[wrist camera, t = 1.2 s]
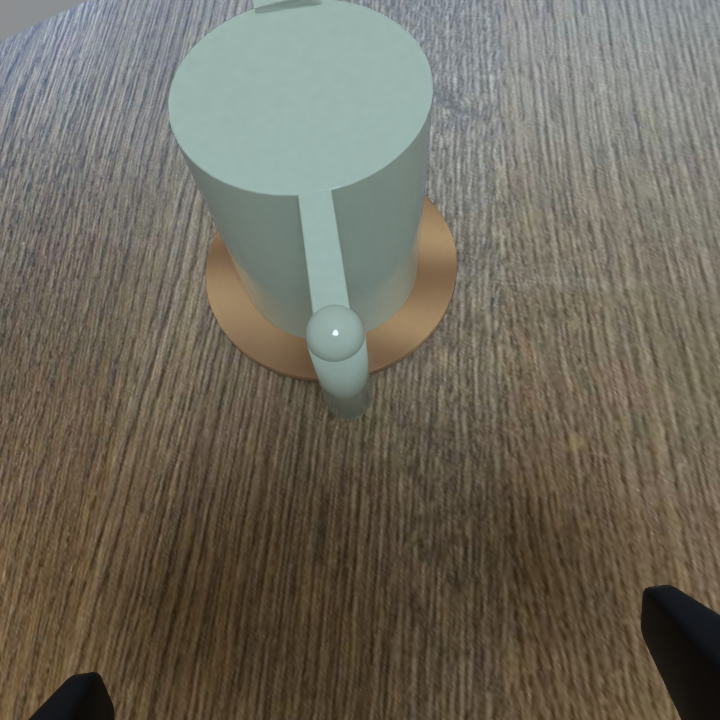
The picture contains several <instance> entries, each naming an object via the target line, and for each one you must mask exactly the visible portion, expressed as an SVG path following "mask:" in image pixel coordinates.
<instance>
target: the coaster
mask: <svg viewBox="0 0 720 720" xmlns="http://www.w3.org/2000/svg"><path fill="white" fill-rule="evenodd" d="M456 275H457V255H456V249H455V245H454V240H453V237H452V235H451V232H450V229H449V227H448V225H447V223H446V221H445V220H444V218H443V216H442V214H441V213H440V212H439V210H438V209H437V208H436V206H435V205H434V204H433V203H432V202H431V201H430V200H429V199H428V198H427V197H426V196H425V197H424V209H423V221H422V233H421V245H420V257H419V268H418V274H417V279H416V282H415V285H414V288H413V290H412V292H411V294H410V296H409V297H408V299H407V300H406V302H405V303H404V305H403V306H402V307H401V308H400V309H399V310H398V311H397V313H396V314H395V315H393V316H392V317H391V318H390V319H389V320H387V321H386V322H385V323H383V324H382V325H380V326H379V327H377V328H375V329H373V330H371V331H369V332H367V333H365V334H366V345H367V356H368V367H369V375H372V374H374V373H377V372H379V371H382V370H384V369H387V368H389V367H391V366H392V365H394V364H396V363H398V362H400V361H402V360H403V359H404V358H406V357H407V356H409V355H410V354H411V353H413V352H414V351H416V350H417V349H418V348H419V347H420V346H421V345H422V344H423V343H424V342H425V341H426V340H427V339H428V338H429V337H430V336H431V334H432V333H433V332H434V331H435V329H436V328H437V327H438V325H439V324H440V322H441V320H442V319H443V317H444V315H445V314H446V312H447V309H448V307H449V304H450V302H451V300H452V296H453V292H454V288H455V284H456ZM206 289H207V295H208V300H209V303H210V306H211V309H212V312H213V314H214V316H215V318H216V320H217V322H218V324H219V326H220V327H221V329H222V330H223V332H224V333H225V334H226V336H227V337H228V339H229V340H230V341H231V342H232V343H233V344H234V345H235V346H236V347H237V348H238V349H239V350H240V351H241V352H242V353H243V354H244V355H246V356H247V357H248V358H250V359H251V360H252V361H254V362H256V363H257V364H259V365H261V366H263V367H264V368H266V369H268V370H271V371H273V372H276V373H278V374H281V375H283V376H287V377H291V378H295V379H299V380H307V381H315V382H319V381H318V378H317V375H316V372H315V369H314V365H313V362H312V359H311V356H310V353H309V350H308V347H307V344H306V340H305V339H304V338H300V337H297V336H293V335H291V334H289V333H286V332H284V331H282V330H280V329H279V328H277V327H275V326H274V325H272V324H271V323H270V322H268V321H267V320H266V319H265V318H264V317H263V316H262V315H261V314H260V313H259V312H258V311H257V310H256V308H255V307H254V305H253V304H252V302H251V300H250V298H249V296H248V294H247V292H246V290H245V288H244V286H243V284H242V281H241V279H240V277H239V275H238V273H237V271H236V268H235V266H234V264H233V262H232V260H231V258H230V256H229V253H228V251H227V249H226V247H225V245H224V243H223V240H222V238H221V236H220V234H219V232H218V230H217V232H216V234H215V237H214V239H213V241H212V244H211V247H210V250H209V254H208V258H207V265H206Z"/></svg>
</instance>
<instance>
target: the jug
mask: <svg viewBox="0 0 720 720" xmlns="http://www.w3.org/2000/svg"><path fill="white" fill-rule="evenodd" d="M252 3H253V9H251V10H249V11H246V12H243V13H241V14H239V15H237V16H235V17H233V18H231V19H229V20H227V21H225V22H224V23H222V24H221V25H219V26H217V27H216V28H214V29H213V30H212V31H210V32H209V33H208V34H207V35H205V36H204V37H203V38H202V39H201V40H200V41H199V42H198V43H197V44H196V45H195V46H194V47H193V48H192V49H191V50H190V51H189V53H188V54H187V55H186V56H185V58H184V59H183V61H182V63H181V64H180V66H179V68H178V69H177V71H176V74H175V76H174V78H173V81H172V84H171V88H170V92H169V101H168V113H169V122H170V125H171V128H172V132H173V135H174V137H175V139H176V141H177V143H178V145H179V148H180V150H181V152H182V154H183V156H184V158H185V161H186V163H187V165H188V167H189V169H190V171H191V174H192V176H193V178H194V180H195V182H196V184H197V186H198V189H199V191H200V193H201V195H202V197H203V199H204V202H205V204H206V206H207V208H208V210H209V212H210V215H211V217H212V219H213V221H214V223H215V225H216V227H217V230H218V232H219V234H220V236H221V238H222V240H223V243H224V245H225V247H226V249H227V251H228V253H229V256H230V258H231V260H232V262H233V264H234V266H235V268H236V271H237V273H238V275H239V277H240V279H241V281H242V284H243V286H244V288H245V290H246V292H247V294H248V296H249V298H250V300H251V302H252V304H253V305H254V307H255V308H256V310H257V311H258V312H259V313H260V314H261V315H262V316H263V317H264V318H265V319H266V320H267V321H268V322H270V323H271V324H272V325H274V326H275V327H277V328H279V329H280V330H282V331H284V332H286V333H289V334H291V335H293V336H297V337H300V338H304V339H305V340H306V344H307V347H308V350H309V353H310V356H311V359H312V362H313V365H314V369H315V372H316V375H317V378H318V381H319V384H320V387H321V390H322V393H323V396H324V399H325V402H326V405H327V407H328V409H329V411H330V412H331V413H332V414H333V415H334V416H336V417H338V418H340V419H344V420H352V419H356V418H358V417H360V416H362V415H363V414H364V413H365V412H366V411H367V409H368V408H369V405H370V402H371V388H370V377H369V367H368V356H367V345H366V334H365V333H367V332H369V331H371V330H373V329H375V328H377V327H379V326H380V325H382V324H383V323H385V322H386V321H387V320H389V319H390V318H391V317H392V316H393V315H395V314H396V313H397V311H398V310H399V309H400V308H401V307H402V306H403V305H404V303H405V302H406V300H407V299H408V297H409V296H410V294H411V292H412V290H413V288H414V285H415V282H416V279H417V274H418V268H419V257H420V245H421V233H422V221H423V209H424V197H425V185H426V173H427V162H428V150H429V138H430V126H431V114H432V102H433V79H432V73H431V69H430V66H429V63H428V60H427V58H426V56H425V54H424V52H423V50H422V49H421V47H420V45H419V44H418V43H417V42H416V40H415V39H414V38H413V37H412V35H411V34H409V33H408V32H407V31H406V30H405V29H404V28H403V27H402V26H400V25H399V24H398V23H396V22H395V21H393V20H392V19H390V18H389V17H387V16H385V15H383V14H381V13H379V12H377V11H375V10H372V9H370V8H367V7H364V6H361V5H357V4H354V3H350V2H345V1H339V0H252Z"/></svg>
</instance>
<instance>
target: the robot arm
mask: <svg viewBox="0 0 720 720" xmlns="http://www.w3.org/2000/svg"><path fill="white" fill-rule="evenodd" d="M641 630H642V635H643V638H644V640H645V642H646V645H647V647H648V649H649V651H650V653H651V655H652V658H653V660H654V662H655V664H656V666H657V668H658V670H659V673H660V675H661V677H662V679H663V681H664V683H665V685H666V688H667V690H668V692H669V694H670V696H671V698H672V701H673V703H674V705H675V707H676V709H677V711H678V713H679V716H680V718H681V720H720V615H719V614H717V613H715V612H714V611H712V610H711V609H709V608H707V607H706V606H704V605H703V604H701V603H699V602H698V601H696V600H695V599H693V598H691V597H690V596H688V595H687V594H685V593H683V592H682V591H680V590H679V589H677V588H675V587H673V586H671V585H660V586H654V587H648V588H646V589H645V590H644V592H643V598H642V613H641ZM29 720H114V707H113V703H112V701H111V699H110V696H109V694H108V691H107V689H106V687H105V684H104V682H103V680H102V677H101V676H100V674H98V673H97V672H90V673H83V674H77V675H73V676H71V677H70V678H68V679H67V680H66V681H65V682H64V683H63V684H62V685H61V686H60V687H59V688H58V689H57V690H56V692H55V693H54V694H53V695H52V696H51V697H50V698H49V699H48V700H47V701H46V702H45V703H44V704H43V705H42V706H41V707H40V708H39V709H38V710H37V711H36V712H35V713H34V714H33V716H32V717H31V718H30V719H29Z"/></svg>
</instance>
